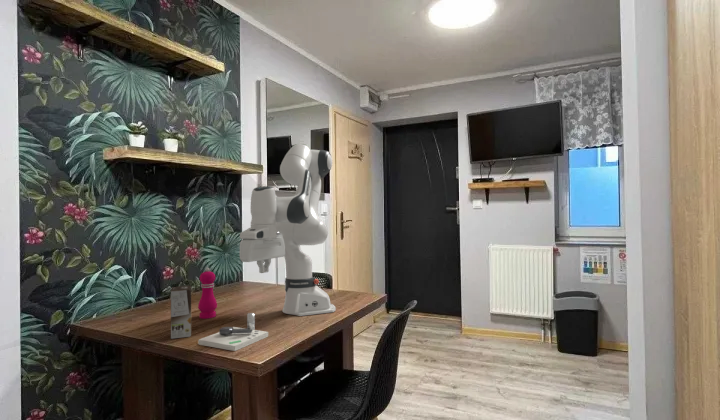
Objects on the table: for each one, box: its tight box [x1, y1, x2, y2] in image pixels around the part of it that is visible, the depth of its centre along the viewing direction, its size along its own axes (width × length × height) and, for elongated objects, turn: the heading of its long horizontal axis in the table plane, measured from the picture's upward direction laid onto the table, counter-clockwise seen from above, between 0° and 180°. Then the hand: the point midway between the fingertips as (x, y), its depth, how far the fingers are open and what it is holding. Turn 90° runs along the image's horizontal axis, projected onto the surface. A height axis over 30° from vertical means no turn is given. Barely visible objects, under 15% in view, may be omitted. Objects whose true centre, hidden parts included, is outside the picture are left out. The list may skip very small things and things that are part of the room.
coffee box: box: [170, 285, 192, 340], centre depth 134 cm, size 9×6×16 cm
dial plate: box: [197, 326, 269, 352], centre depth 126 cm, size 16×15×2 cm
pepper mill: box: [197, 267, 218, 320], centre depth 158 cm, size 7×7×20 cm
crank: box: [218, 312, 256, 335], centre depth 128 cm, size 11×4×6 cm, turn 95°
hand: (264, 272), depth 134 cm, fingers closed
